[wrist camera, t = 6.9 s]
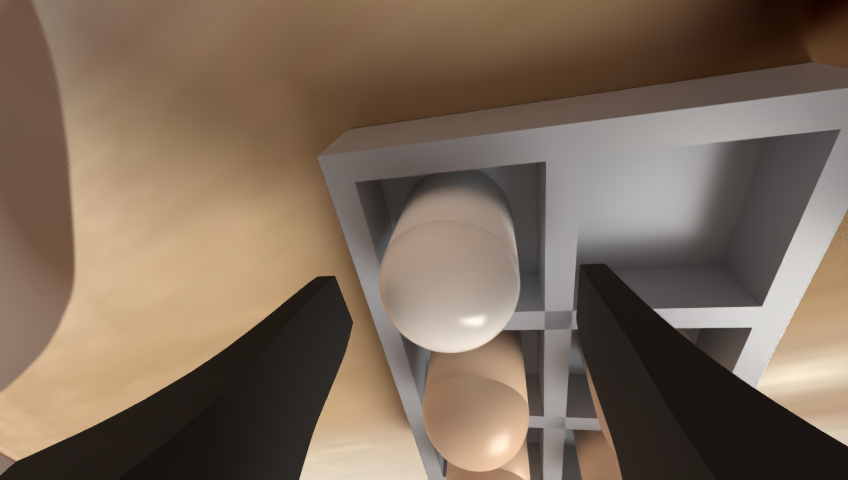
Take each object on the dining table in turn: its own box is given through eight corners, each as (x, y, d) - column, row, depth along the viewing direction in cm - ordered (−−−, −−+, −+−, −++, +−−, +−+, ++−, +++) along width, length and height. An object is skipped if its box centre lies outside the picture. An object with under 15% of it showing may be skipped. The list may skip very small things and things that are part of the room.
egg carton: (813, 62, 10) (1188, 126, 5) (671, 449, 22) (734, 601, 16) (347, 129, 14) (251, 214, 8) (435, 436, 25) (420, 559, 20)
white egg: (509, 161, 13) (525, 262, 8) (514, 258, 15) (528, 386, 10) (394, 174, 14) (341, 271, 9) (414, 264, 16) (382, 383, 11)
